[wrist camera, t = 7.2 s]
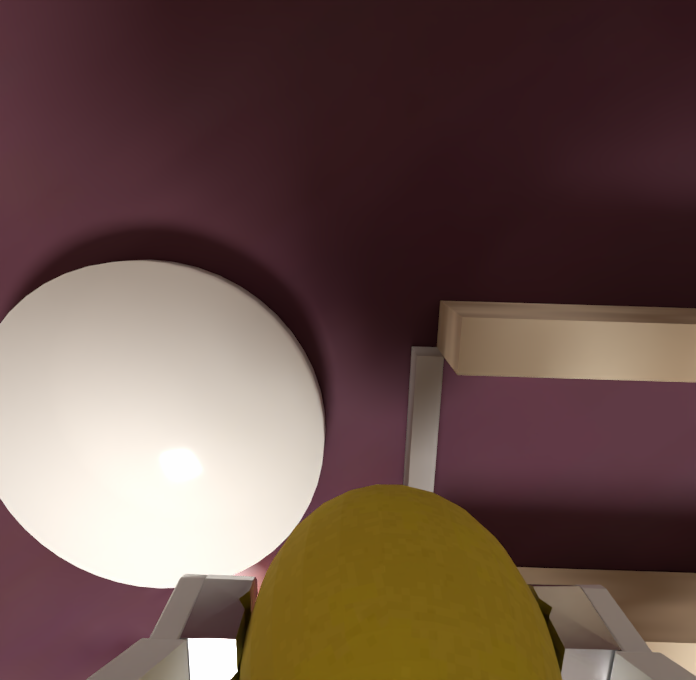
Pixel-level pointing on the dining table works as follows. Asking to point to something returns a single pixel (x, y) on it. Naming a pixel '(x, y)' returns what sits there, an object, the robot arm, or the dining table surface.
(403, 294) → the dining table surface
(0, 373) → the saucer
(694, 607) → the wooden rectangular frame
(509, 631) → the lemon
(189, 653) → the robot arm
